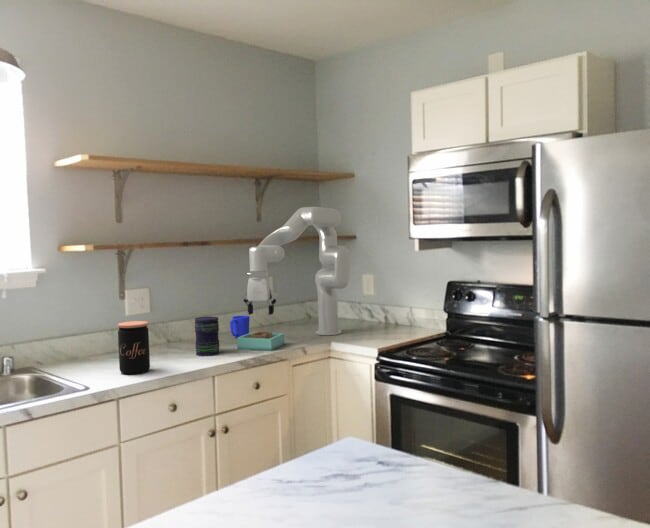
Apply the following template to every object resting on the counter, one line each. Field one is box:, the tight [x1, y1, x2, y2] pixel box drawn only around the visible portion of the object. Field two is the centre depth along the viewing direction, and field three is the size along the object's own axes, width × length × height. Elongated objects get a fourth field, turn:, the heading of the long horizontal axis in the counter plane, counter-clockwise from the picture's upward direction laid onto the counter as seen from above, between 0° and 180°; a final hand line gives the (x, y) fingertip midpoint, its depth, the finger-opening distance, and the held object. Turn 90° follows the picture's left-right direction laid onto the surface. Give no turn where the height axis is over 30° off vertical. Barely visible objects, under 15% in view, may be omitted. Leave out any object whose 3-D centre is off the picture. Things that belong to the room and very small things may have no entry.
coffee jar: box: [117, 320, 151, 376], centre depth 223 cm, size 11×11×18 cm
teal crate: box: [236, 332, 286, 352], centre depth 264 cm, size 14×16×5 cm
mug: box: [229, 315, 251, 339], centre depth 288 cm, size 8×12×10 cm
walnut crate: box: [250, 331, 273, 339], centre depth 264 cm, size 9×6×5 cm
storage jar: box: [194, 316, 221, 357], centre depth 252 cm, size 10×10×15 cm
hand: (260, 314), depth 264 cm, fingers open, 9 cm apart
